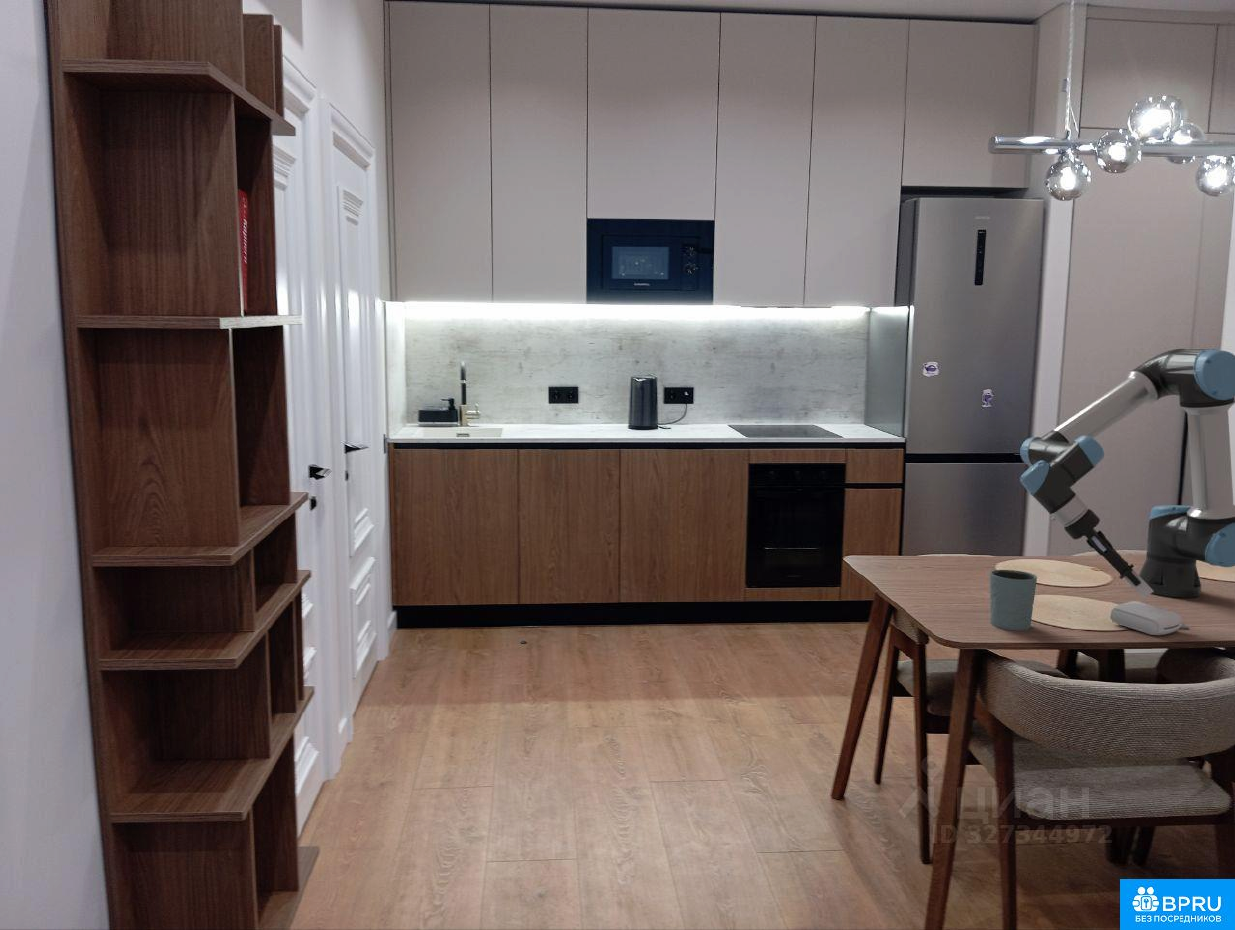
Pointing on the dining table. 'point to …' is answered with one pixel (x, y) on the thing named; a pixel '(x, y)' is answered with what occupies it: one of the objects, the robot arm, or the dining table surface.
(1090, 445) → the robot arm
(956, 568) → the dining table surface
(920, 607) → the dining table surface
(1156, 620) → the photo printer
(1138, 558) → the dining table surface
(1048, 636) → the dining table surface
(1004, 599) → the teal cup
